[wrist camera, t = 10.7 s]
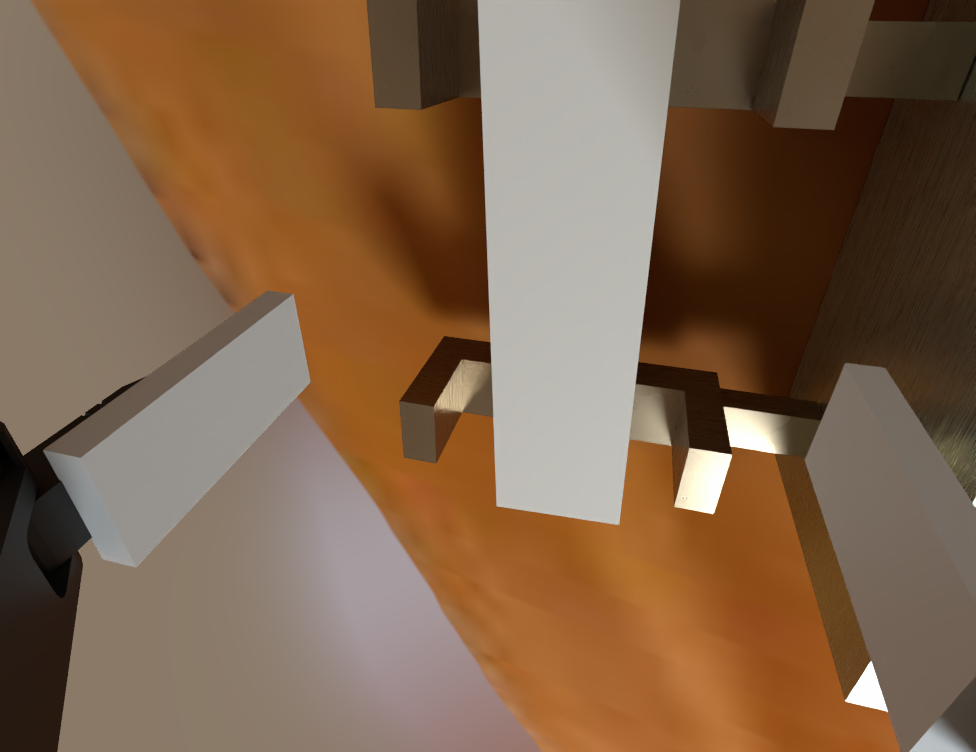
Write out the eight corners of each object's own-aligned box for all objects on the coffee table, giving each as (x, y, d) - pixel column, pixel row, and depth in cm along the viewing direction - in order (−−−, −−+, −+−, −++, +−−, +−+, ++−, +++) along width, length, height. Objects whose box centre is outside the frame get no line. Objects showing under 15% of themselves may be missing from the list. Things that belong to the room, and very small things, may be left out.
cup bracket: (457, -73, 22) (237, -191, 10) (1012, -84, 18) (1641, -290, 7) (462, 395, 33) (360, 587, 22) (802, 448, 30) (895, 713, 18)
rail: (517, -8, 18) (476, -19, 14) (677, -17, 17) (683, -33, 13) (520, 435, 28) (496, 505, 23) (624, 447, 26) (619, 524, 22)
